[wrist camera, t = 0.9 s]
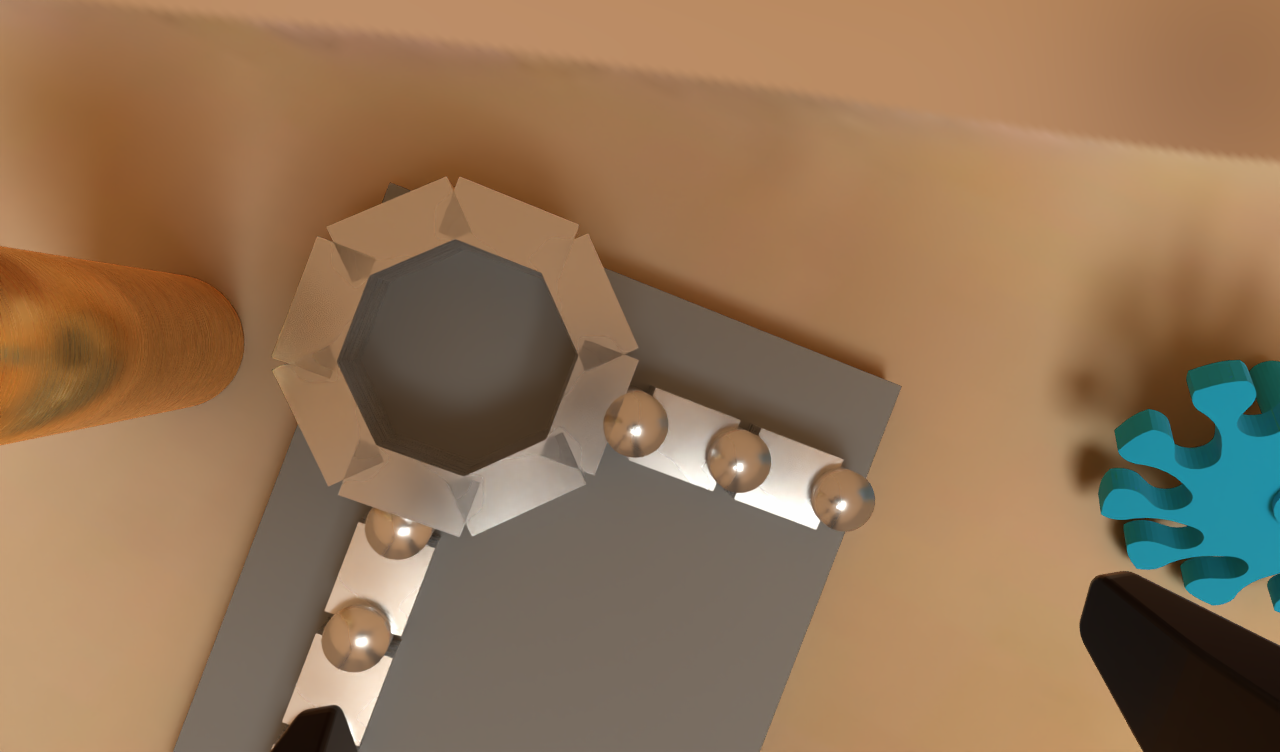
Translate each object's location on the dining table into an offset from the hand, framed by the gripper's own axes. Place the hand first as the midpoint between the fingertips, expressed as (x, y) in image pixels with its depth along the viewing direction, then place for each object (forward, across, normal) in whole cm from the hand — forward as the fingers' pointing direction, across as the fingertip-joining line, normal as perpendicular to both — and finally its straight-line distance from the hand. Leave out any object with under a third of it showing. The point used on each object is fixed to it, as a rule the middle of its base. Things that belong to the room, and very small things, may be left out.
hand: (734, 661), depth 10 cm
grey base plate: (+11, +3, +8) cm, 14 cm away
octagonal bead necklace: (+11, +3, +7) cm, 13 cm away
